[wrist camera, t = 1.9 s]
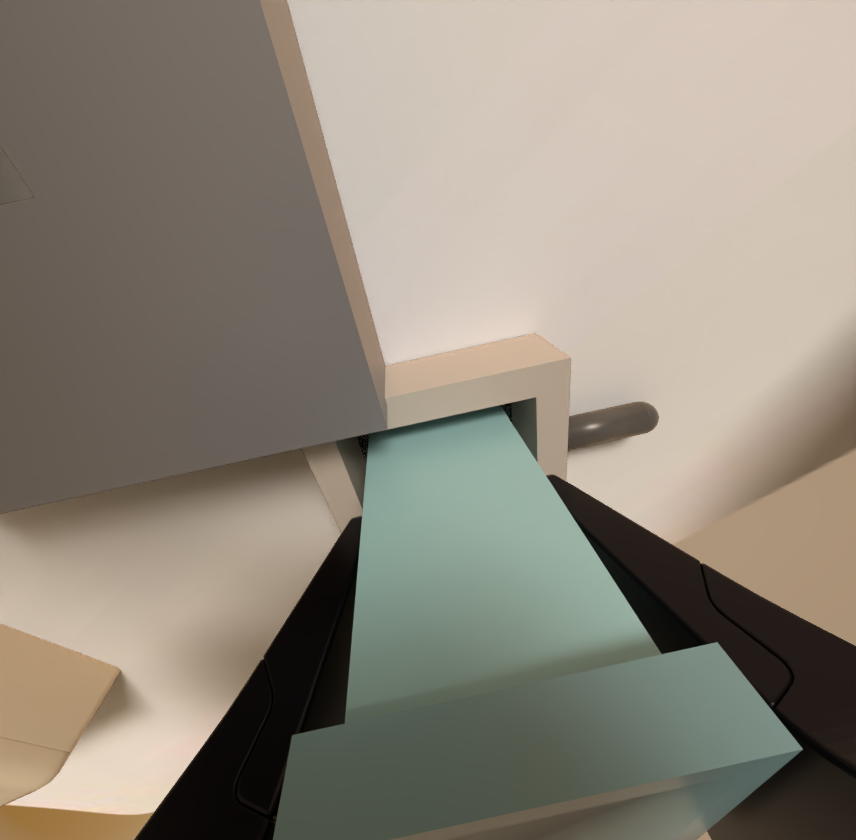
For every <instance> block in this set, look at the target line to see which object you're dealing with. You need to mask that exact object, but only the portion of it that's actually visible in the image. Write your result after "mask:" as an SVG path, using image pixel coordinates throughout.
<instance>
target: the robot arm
mask: <svg viewBox="0 0 856 840" xmlns="http://www.w3.org/2000/svg"><path fill="white" fill-rule="evenodd" d="M546 477H547V478H548V480H549V481H550V483H551V484H552V486H553V487H554V489H555V490H556V492H557V494H558V495H559V497H560V498H561V500H562V501H563V503H564V504H565V506H566V507H567V509H568V511H569V512H570V514H571V515H572V517H573V518H574V520H575V521H576V523H577V524H578V526H579V528H580V529H581V531H582V532H583V534H584V535H585V537H586V538H587V540H588V541H589V543H590V544H591V546H592V548H593V549H594V551H595V552H596V554H597V555H598V557H599V558H600V560H601V561H602V563H603V565H604V566H605V568H606V569H607V571H608V572H609V574H610V575H611V577H612V578H613V580H614V581H615V583H616V585H617V586H618V588H619V589H620V591H621V592H622V594H623V595H624V597H625V598H626V600H627V602H628V603H629V605H630V606H631V608H632V609H633V611H634V612H635V614H636V615H637V617H638V619H639V620H640V622H641V623H642V625H643V626H644V628H645V629H646V631H647V632H648V634H649V635H650V637H651V639H652V640H653V642H654V643H655V645H656V646H657V648H658V649H659V651H660V652H661V654H666V653H670V652H675V651H679V650H684V649H688V648H693V647H698V646H702V645H707V644H711V643H716V642H717V643H718V644H719V645H720V646H721V648H722V649H723V650H724V651H725V653H726V654H727V655H728V656H729V658H730V659H731V660H732V661H733V662H734V664H735V665H736V666H737V667H738V669H739V670H740V671H741V672H742V674H743V675H744V676H745V677H746V679H747V680H748V681H749V682H750V684H751V685H752V686H753V687H754V689H755V690H756V691H757V692H758V694H759V695H760V696H761V697H762V699H763V700H764V701H765V702H766V704H767V705H768V706H769V707H770V709H771V710H772V711H773V712H774V714H775V715H776V716H777V717H778V719H779V720H780V721H781V722H782V724H783V725H784V726H785V727H786V729H787V730H788V731H789V732H790V734H791V735H792V736H793V737H794V739H795V740H796V741H797V742H798V744H799V745H800V746H801V747H802V749H803V750H802V751H801V752H799V753H798V754H797V755H796V756H795V757H794V758H792V759H791V760H790V761H789V762H788V763H786V764H785V765H784V766H783V767H782V768H781V769H779V770H778V771H777V772H776V773H775V774H774V775H772V776H771V777H770V778H769V779H768V780H766V781H765V782H764V783H763V784H762V785H761V786H759V787H758V788H757V789H756V790H755V791H754V792H752V793H751V794H750V795H749V796H748V797H746V798H745V799H744V800H743V801H742V802H741V803H739V804H738V805H737V806H736V807H735V808H733V809H732V810H731V811H730V812H729V813H728V814H726V815H725V816H724V817H723V818H722V819H721V820H719V821H718V822H717V823H716V824H715V825H713V826H712V827H711V828H710V829H709V830H708V831H707V832H708V834H709V836H710V837H711V839H712V840H856V646H854V645H853V644H851V643H849V642H847V641H845V640H843V639H841V638H839V637H837V636H835V635H833V634H831V633H829V632H827V631H825V630H823V629H821V628H820V627H818V626H816V625H814V624H812V623H810V622H808V621H806V620H804V619H802V618H800V617H798V616H796V615H795V614H793V613H791V612H789V611H787V610H785V609H783V608H781V607H780V606H778V605H776V604H774V603H772V602H770V601H768V600H766V599H765V598H763V597H761V596H759V595H757V594H756V593H754V592H752V591H750V590H749V589H747V588H745V587H743V586H742V585H740V584H738V583H736V582H734V581H733V580H731V579H729V578H728V577H726V576H724V575H722V574H721V573H719V572H717V571H716V570H714V569H712V568H711V567H709V566H707V565H706V564H700V562H699V560H697V559H695V558H694V557H692V556H690V555H689V554H687V553H685V552H684V551H682V550H680V549H679V548H677V547H675V546H674V545H672V544H670V543H669V542H667V541H665V540H664V539H662V538H660V537H659V536H657V535H655V534H653V533H652V532H650V531H648V530H647V529H645V528H643V527H642V526H640V525H638V524H637V523H635V522H633V521H632V520H630V519H628V518H627V517H625V516H623V515H622V514H620V513H618V512H617V511H615V510H613V509H612V508H610V507H608V506H607V505H605V504H603V503H602V502H600V501H598V500H596V499H595V498H593V497H591V496H590V495H588V494H586V493H585V492H583V491H581V490H580V489H578V488H576V487H575V486H573V485H571V484H570V483H568V482H566V481H565V480H563V479H561V478H560V477H558V476H556V475H553V474H550V475H546ZM361 524H362V516H358V517H354V518H352V519H351V520H350V521H349V523H348V524H347V526H346V527H345V529H344V530H343V532H342V534H341V535H340V537H339V538H338V540H337V541H336V543H335V545H334V546H333V548H332V549H331V551H330V552H329V554H328V556H327V557H326V559H325V560H324V562H323V563H322V565H321V567H320V568H319V570H318V571H317V573H316V574H315V576H314V578H313V579H312V581H311V582H310V584H309V585H308V587H307V589H306V590H305V592H304V593H303V595H302V596H301V598H300V600H299V601H298V603H297V604H296V606H295V607H294V609H293V611H292V612H291V614H290V615H289V617H288V618H287V620H286V622H285V623H284V625H283V626H282V628H281V629H280V631H279V633H278V634H277V636H276V637H275V639H274V640H273V642H272V644H271V645H270V647H269V648H268V650H267V651H266V653H265V655H264V659H262V660H261V661H260V662H259V664H258V665H257V667H256V668H255V670H254V672H253V673H252V675H251V676H250V678H249V679H248V681H247V683H246V684H245V686H244V687H243V689H242V690H241V692H240V693H239V695H238V696H237V698H236V699H235V701H234V702H233V704H232V705H231V707H230V708H229V710H228V711H227V713H226V714H225V716H224V717H223V718H222V720H221V721H220V723H219V724H218V725H217V727H216V728H215V730H214V731H213V732H212V734H211V735H210V737H209V738H208V739H207V741H206V742H205V744H204V745H203V746H202V748H201V749H200V751H199V752H198V753H197V755H196V756H195V757H194V759H193V760H192V762H191V763H190V764H189V766H188V767H187V768H186V770H185V771H184V772H183V774H182V775H181V776H180V778H179V779H178V781H177V782H176V783H175V785H174V786H173V787H172V789H171V790H170V791H169V793H168V794H167V796H166V797H165V798H164V800H163V801H162V802H161V804H160V805H159V806H158V808H157V809H156V811H155V812H154V813H153V815H152V816H151V817H150V819H149V820H148V822H147V823H146V824H145V826H144V827H143V828H142V830H141V831H140V832H139V834H138V835H137V836H136V838H135V839H134V840H273V836H274V831H275V825H276V820H277V814H278V809H279V804H280V798H281V793H282V788H283V782H284V777H285V771H286V766H287V761H288V755H289V750H290V745H291V739H292V735H295V734H300V733H304V732H309V731H313V730H318V729H323V728H327V727H332V726H336V725H341V724H345V714H346V703H347V691H348V679H349V667H350V655H351V643H352V631H353V619H354V607H355V595H356V584H357V572H358V560H359V548H360V536H361Z"/></svg>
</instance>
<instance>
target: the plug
mask: <svg viewBox="0 0 856 840" xmlns="http://www.w3.org/2000/svg"><path fill="white" fill-rule="evenodd" d="M802 750H803V749H802V747H801V746H800V745H799V744H798V742H797V741H796V740H795V739H794V737H793V736H792V735H791V734H790V732H789V731H788V730H787V729H786V727H785V726H784V725H783V724H782V722H781V721H780V720H779V719H778V717H777V716H776V715H775V714H774V712H773V711H772V710H771V709H770V707H769V706H768V705H767V704H766V702H765V701H764V700H763V699H762V697H761V696H760V695H759V694H758V692H757V691H756V690H755V689H754V687H753V686H752V685H751V684H750V682H749V681H748V680H747V679H746V677H745V676H744V675H743V674H742V672H741V671H740V670H739V669H738V667H737V666H736V665H735V664H734V662H733V661H732V660H731V659H730V658H729V656H728V655H727V654H726V653H725V651H724V650H723V649H722V648H721V646H720V645H719V644H718V643H717V642H716V643H711V644H707V645H702V646H698V647H693V648H688V649H684V650H679V651H675V652H670V653H666V654H661V652H660V651H659V649H658V648H657V646H656V645H655V643H654V642H653V640H652V639H651V637H650V635H649V634H648V632H647V631H646V629H645V628H644V626H643V625H642V623H641V622H640V620H639V619H638V617H637V615H636V614H635V612H634V611H633V609H632V608H631V606H630V605H629V603H628V602H627V600H626V598H625V597H624V595H623V594H622V592H621V591H620V589H619V588H618V586H617V585H616V583H615V581H614V580H613V578H612V577H611V575H610V574H609V572H608V571H607V569H606V568H605V566H604V565H603V563H602V561H601V560H600V558H599V557H598V555H597V554H596V552H595V551H594V549H593V548H592V546H591V544H590V543H589V541H588V540H587V538H586V537H585V535H584V534H583V532H582V531H581V529H580V528H579V526H578V524H577V523H576V521H575V520H574V518H573V517H572V515H571V514H570V512H569V511H568V509H567V507H566V506H565V504H564V503H563V501H562V500H561V498H560V497H559V495H558V494H557V492H556V490H555V489H554V487H553V486H552V484H551V483H550V481H549V480H548V478H547V477H546V475H545V474H544V472H543V470H542V469H541V467H540V466H539V464H538V463H537V461H536V460H535V458H534V457H533V455H532V453H531V452H530V450H529V449H528V447H527V446H526V444H525V443H524V441H523V440H522V438H521V436H520V435H519V433H518V432H517V430H516V429H515V427H514V426H513V424H512V423H511V421H510V420H509V418H508V416H507V415H506V413H505V412H504V410H503V409H502V407H501V406H500V405H498V406H494V407H489V408H484V409H480V410H475V411H471V412H466V413H461V414H457V415H452V416H448V417H443V418H439V419H434V420H429V421H425V422H420V423H416V424H411V425H406V426H402V427H397V428H393V429H388V430H384V431H379V432H374V433H370V434H369V441H368V453H367V465H366V477H365V488H364V500H363V512H362V524H361V536H360V548H359V560H358V572H357V584H356V595H355V607H354V619H353V631H352V643H351V655H350V667H349V679H348V691H347V703H346V714H345V724H341V725H336V726H332V727H327V728H323V729H318V730H313V731H309V732H304V733H300V734H295V735H292V739H291V745H290V750H289V755H288V761H287V766H286V771H285V777H284V782H283V788H282V793H281V798H280V804H279V809H278V814H277V820H276V825H275V831H274V836H273V840H697V839H698V838H699V837H700V836H702V835H703V834H704V833H705V832H706V831H708V830H709V829H710V828H711V827H712V826H713V825H715V824H716V823H717V822H718V821H719V820H721V819H722V818H723V817H724V816H725V815H726V814H728V813H729V812H730V811H731V810H732V809H733V808H735V807H736V806H737V805H738V804H739V803H741V802H742V801H743V800H744V799H745V798H746V797H748V796H749V795H750V794H751V793H752V792H754V791H755V790H756V789H757V788H758V787H759V786H761V785H762V784H763V783H764V782H765V781H766V780H768V779H769V778H770V777H771V776H772V775H774V774H775V773H776V772H777V771H778V770H779V769H781V768H782V767H783V766H784V765H785V764H786V763H788V762H789V761H790V760H791V759H792V758H794V757H795V756H796V755H797V754H798V753H799V752H801V751H802Z"/></svg>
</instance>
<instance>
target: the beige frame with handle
mask: <svg viewBox="0 0 856 840" xmlns="http://www.w3.org/2000/svg"><path fill="white" fill-rule="evenodd" d="M570 375H571V357H570V356H568V355H567V354H565V353H564V352H562V351H561V350H559V349H558V348H557V347H555V346H554V345H552V344H551V343H549V342H548V341H546V340H545V339H544V338H542V337H541V336H539V335H538V334H536V333H534V334H530V335H525V336H521V337H516V338H511V339H507V340H502V341H498V342H493V343H488V344H484V345H479V346H475V347H470V348H466V349H461V350H456V351H452V352H447V353H443V354H438V355H433V356H429V357H424V358H420V359H415V360H411V361H406V362H401V363H397V364H392V365H388V366H385V400H386V403H387V430H388V429H393V428H397V427H402V426H406V425H411V424H416V423H420V422H425V421H429V420H434V419H439V418H443V417H448V416H452V415H457V414H461V413H466V412H471V411H475V410H480V409H484V408H489V407H494V406H498V405H503V404H507V403H511V407H512V422H513V426H514V427H515V429H516V430H517V432H518V433H519V435H520V436H521V438H522V440H523V441H524V443H525V444H526V446H527V447H528V449H529V450H530V452H531V453H532V455H533V457H534V458H535V460H536V461H537V463H538V464H539V466H540V467H541V469H542V470H543V472H544V474H545V475H550V474H553V475H556V476H558V477H560V478H561V479H563V480H565V481H566V478H567V452H568V450H571V449H576V448H580V447H585V446H589V445H594V444H599V443H603V442H608V441H612V440H617V439H622V438H626V437H631V436H635V435H640V434H644V433H648V432H650V431H651V430H653V429H654V428H655V427H656V425H657V423H658V419H659V416H658V412H657V410H656V409H655V408H654V407H653V406H652V405H650V404H648V403H645V402H633V403H629V404H624V405H620V406H615V407H610V408H606V409H601V410H597V411H592V412H587V413H583V414H578V415H574V416H569V400H570ZM382 431H384V430H382ZM377 432H379V431H377ZM373 433H374V432H373ZM368 434H370V433H368ZM364 435H365V434H364ZM359 436H361V435H359ZM301 449H302V451H303V453H304V455H305V457H306V460H307V462H308V464H309V466H310V468H311V470H312V472H313V474H314V476H315V478H316V481H317V483H318V485H319V487H320V489H321V491H322V493H323V495H324V497H325V500H326V502H327V504H328V506H329V508H330V510H331V512H332V514H333V516H334V519H335V521H336V523H337V525H338V527H339V529H340V531H341V533H342V532H343V530H344V529H345V527H346V526H347V524H348V523H349V521H350V520H351V519H352V518H354V517H358V516H362V512H363V500H364V488H365V477H366V465H367V464H366V461H365V459H364V456H363V453H362V450H361V447H360V445H359V442H358V439H357V436H355V437H350V438H345V439H341V440H336V441H332V442H327V443H322V444H318V445H313V446H309V447H304V448H301Z"/></svg>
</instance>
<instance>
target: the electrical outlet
mask: <svg viewBox="0 0 856 840" xmlns="http://www.w3.org/2000/svg"><path fill="white" fill-rule="evenodd" d="M119 673H120V669H119V668H118V667H115V666H113V665H110V664H107V663H104V662H102V661H99V660H96V659H94V658H91V657H88V656H86V655H83V654H80V653H78V652H75V651H72V650H70V649H67V648H64V647H62V646H59V645H56V644H54V643H51V642H48V641H45V640H43V639H40V638H37V637H35V636H32V635H29V634H27V633H24V632H21V631H19V630H16V629H13V628H11V627H8V626H5V625H3V624H0V807H1V806H3V805H6V804H8V803H10V802H12V801H14V800H17V799H19V798H21V797H23V796H25V795H27V794H30V793H32V792H34V791H36V790H38V789H40V788H41V787H43V786H45V785H46V784H48V783H50V782H51V781H52V780H53V779H54V778H55V776H56V775H57V774H58V773H59V772H60V770H61V769H62V767H63V765H64V764H65V762H66V760H67V759H68V757H69V755H70V754H71V752H72V751H73V749H74V747H75V746H76V744H77V742H78V741H79V739H80V737H81V736H82V734H83V733H84V731H85V729H86V728H87V726H88V724H89V723H90V721H91V719H92V718H93V716H94V714H95V713H96V711H97V709H98V708H99V706H100V704H101V703H102V701H103V699H104V698H105V696H106V694H107V693H108V691H109V689H110V688H111V686H112V684H113V683H114V681H115V679H116V678H117V676H118V674H119Z"/></svg>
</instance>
